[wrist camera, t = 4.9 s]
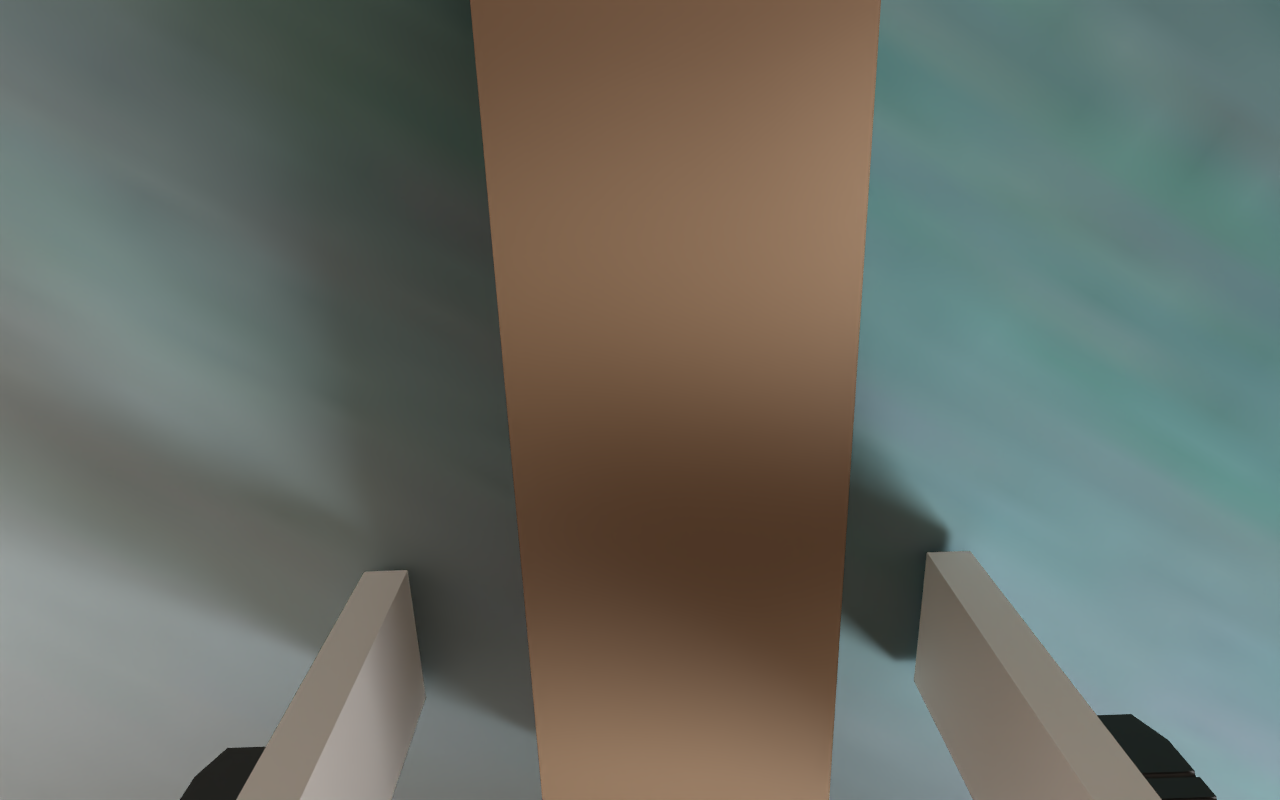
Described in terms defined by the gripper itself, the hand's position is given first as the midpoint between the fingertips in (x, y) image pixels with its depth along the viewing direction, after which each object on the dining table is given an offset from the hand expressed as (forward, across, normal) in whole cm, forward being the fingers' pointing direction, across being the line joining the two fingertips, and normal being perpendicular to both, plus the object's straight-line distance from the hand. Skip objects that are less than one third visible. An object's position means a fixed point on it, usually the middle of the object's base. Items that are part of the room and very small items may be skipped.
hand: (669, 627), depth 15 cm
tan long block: (0, 0, -4) cm, 4 cm away
